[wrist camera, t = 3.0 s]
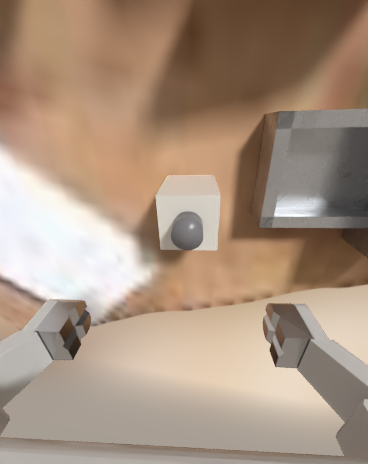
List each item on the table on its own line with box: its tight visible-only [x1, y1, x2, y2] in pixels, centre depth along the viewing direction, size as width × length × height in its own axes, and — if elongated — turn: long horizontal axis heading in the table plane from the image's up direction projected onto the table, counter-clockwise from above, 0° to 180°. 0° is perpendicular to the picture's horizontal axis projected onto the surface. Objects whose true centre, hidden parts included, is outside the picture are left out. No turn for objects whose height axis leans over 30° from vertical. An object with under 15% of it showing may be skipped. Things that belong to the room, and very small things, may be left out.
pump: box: [156, 175, 221, 250], centre depth 19 cm, size 5×5×9 cm
